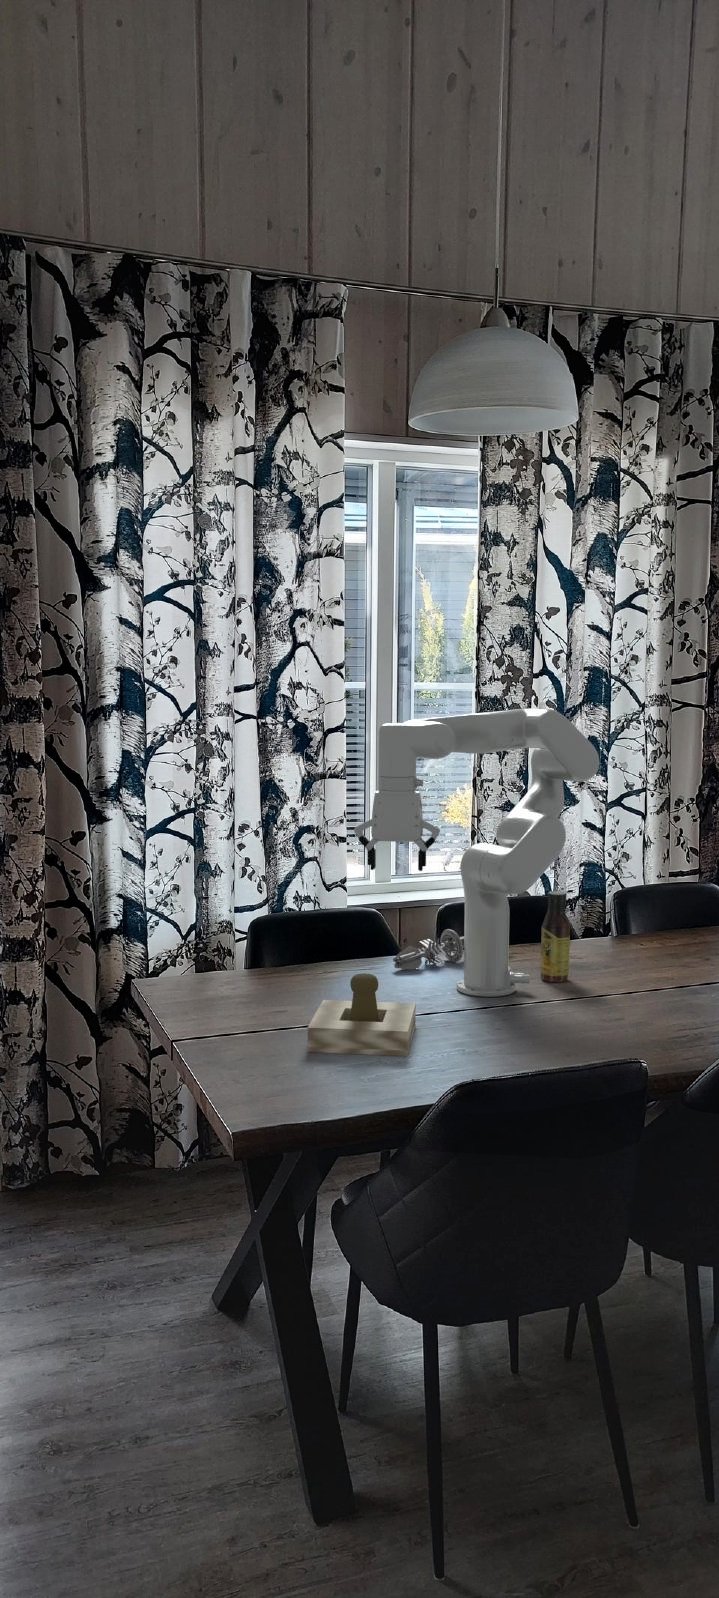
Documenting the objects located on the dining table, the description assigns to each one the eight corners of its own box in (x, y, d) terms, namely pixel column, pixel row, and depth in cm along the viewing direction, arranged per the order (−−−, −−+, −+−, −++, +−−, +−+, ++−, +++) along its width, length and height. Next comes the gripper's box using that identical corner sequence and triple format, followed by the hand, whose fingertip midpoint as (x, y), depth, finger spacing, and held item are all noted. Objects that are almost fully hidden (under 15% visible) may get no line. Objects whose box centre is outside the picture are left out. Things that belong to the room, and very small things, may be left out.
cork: (381, 1028, 219) (381, 971, 218) (379, 1038, 213) (379, 979, 212) (349, 1027, 220) (349, 970, 218) (346, 1037, 214) (346, 978, 212)
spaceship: (521, 923, 280) (499, 906, 285) (406, 958, 260) (386, 940, 265) (514, 950, 283) (493, 933, 289) (401, 987, 263) (380, 968, 269)
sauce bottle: (537, 976, 261) (538, 889, 259) (564, 976, 262) (566, 889, 260) (544, 984, 255) (545, 894, 253) (572, 983, 255) (574, 894, 253)
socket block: (415, 1026, 224) (415, 1003, 224) (407, 1056, 206) (407, 1031, 206) (323, 1022, 226) (323, 999, 226) (307, 1052, 209) (307, 1027, 208)
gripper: (441, 783, 235) (440, 867, 237) (356, 782, 238) (356, 865, 239) (439, 787, 228) (438, 873, 230) (351, 786, 230) (351, 871, 232)
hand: (396, 869), depth 235 cm, fingers open, 9 cm apart
